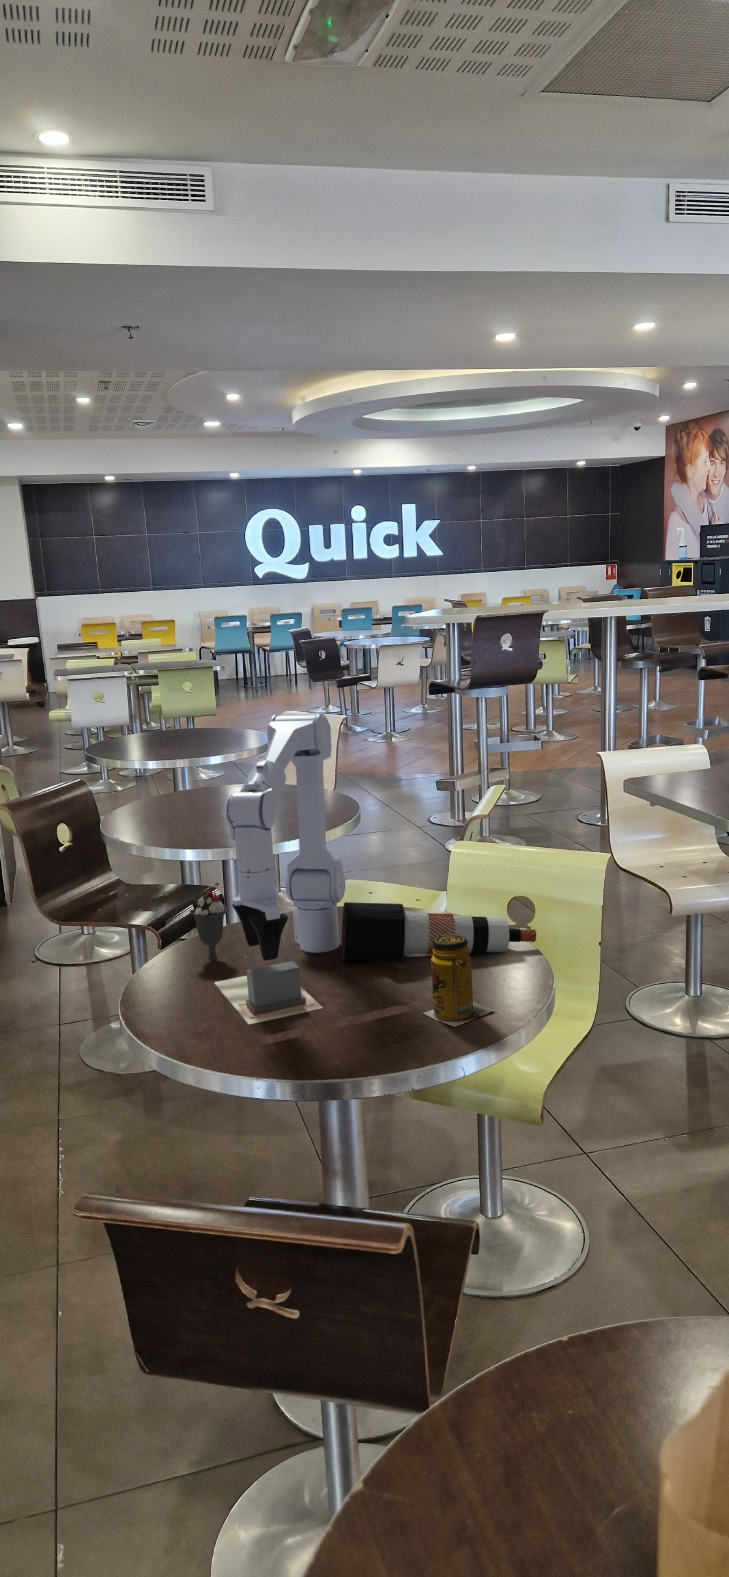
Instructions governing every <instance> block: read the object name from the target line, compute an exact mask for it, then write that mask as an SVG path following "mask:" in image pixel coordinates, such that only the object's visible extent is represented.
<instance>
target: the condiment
mask: <svg viewBox="0 0 729 1577" xmlns="http://www.w3.org/2000/svg"><path fill="white" fill-rule="evenodd" d="M467 945H468V941H467V939H466V938H465V937H463V936H461V935H442V936H439V937H436V938H435V939H434V940H433V954H432V956H431V958H430V963H431V964H430V965H431V966H430V967H431V968H430V969H431V981H432V982H431V983H432V984H431V986H432V987H431V988H432V1002H433V1005H432V1006H433V1008H432V1009H430V1010H428V1011H425V1012H422V1014H424V1015H425V1016H427V1017H429V1018H431V1019H434V1020H435V1021H438V1022H441V1023H442V1024H447V1026H448V1025H449V1026H451V1027H458V1026H460V1025H463V1024H466V1023H468V1022H471V1021H473V1020H475V1019H477V1018H478V1017H483V1016H485V1015H487V1014H489V1013H491V1012H494V1011H495V1009H493V1008H489V1007H486V1006H483V1005H481V1004H479V1003H478V1004H477V1003H476V1002H474V994H473V992H474V991H473V990H474V989H473V974H472V973H473V972H472V969H473V968H472V956H471V955H470V953H468V946H467ZM474 1015H475V1016H474Z"/></svg>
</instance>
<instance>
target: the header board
mask: <svg viewBox="0 0 729 1577" xmlns="http://www.w3.org/2000/svg"><path fill="white" fill-rule="evenodd" d="M213 984H214V985H215V986H216V987H217V988H218V990H219V991H220V992H221V993H222V994H223V995H224V997H225V998H226V999H227V1000H228V1002H229V1003H230V1004H231V1005H232V1007H233V1008H234V1009H235V1010H236V1012H238V1013H239V1015H240V1016H241V1017H242V1018H243V1020H244V1021H245V1022H246V1023H247V1024H248V1025H252V1024H257V1023H262V1022H266V1021H270V1020H271V1021H272V1020H276V1019H280V1018H284V1017H288V1016H289V1017H290V1016H293V1015H299V1014H302V1013H308V1012H311V1011H315V1010H316V1011H317V1010H321V1009H324V1007H323V1006H322V1005H321V1004H320V1003H319V1002H318V1001H317V1000H316V999H314V998H313V997H312V996H311V995H310V994H309V993H308V992H307V991H306V990H305V989H304V988H303V987H302V986H301V998H297V999H292V1000H287V1001H283V1002H278V1003H273V1004H269V1005H264V1006H260V1007H254V1006H253V1005H252V1004H251V1002H250V1001H249V996H248V984H247V975H243V976H238V977H232V978H229V979H228V978H227V979H224V980H223V979H222V980H218V981H214V982H213Z"/></svg>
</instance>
